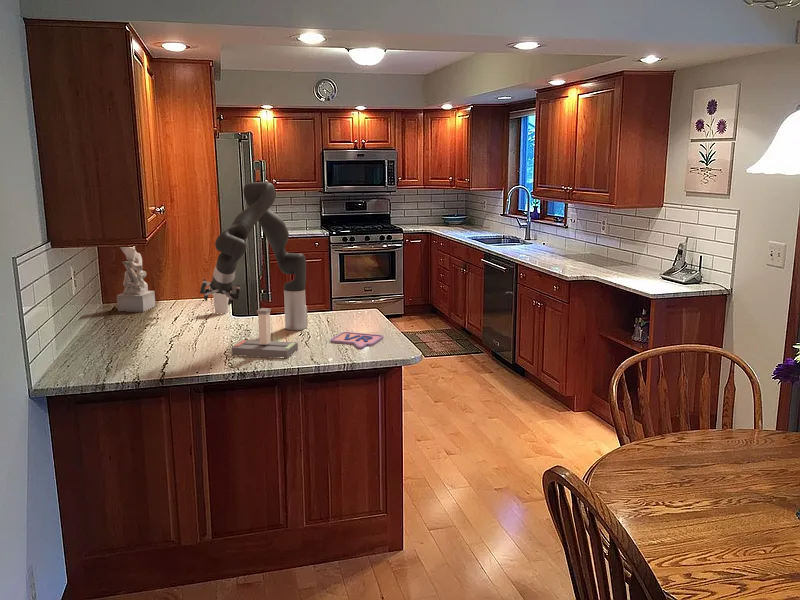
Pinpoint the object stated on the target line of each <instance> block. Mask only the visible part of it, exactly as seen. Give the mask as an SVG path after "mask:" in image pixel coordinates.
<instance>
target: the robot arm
mask: <svg viewBox="0 0 800 600" xmlns="http://www.w3.org/2000/svg"><path fill="white" fill-rule="evenodd" d="M242 191H243V197H244V200H245V202H246V205H247V206H248V207H247V208H245V209H244V210H242V211H241V212H240V213H238V215H237V216H236V217H235V218H234V220H233V222H231V223H232V224H231V225H230V226H229V227H228V228H226V229H225V230H224V231H222V232H220V234H219V235H218V236H217V238H216V240H215V242H214V243H215V244H214V246H215V249H216V251H218V252H220V253H219V254H218V257H217V259H216V264H215V267H214V270H213V273H212V279H211V281H207V279H205V278H204V279H202V283H201V285H200V289H199V290H200V291H199V293H200V295H202V294H203V300H204V301H205V302H208V299H209V295H213V293H215V292H216V293H220V294H225V295H226V296H227V297H229V300H228V306H231V304H233V301H234V300H239V296H240V291H241V286H240V285H239V284H238V285H237V286H234V285H233V284H234V283H233V282H234V280H235V278H236V269H237V265H238V263H239V261H240V259H241V258H242V257H243V256H244V255H245V253H246V251H247V248H248V245H247V243H246V241H245V240H246V239H247V238H248V237H249V235H250V234H251V232H252V230H253V228H255V225H256V223H257V222H258V224H259V225H260V227H261V229H262V232H263V233H264V234H263V235H264V236H265V238H266V240H267V242H268V243H269V245H270V247H271V249H272V251H273V254H274V256H275V259H276V262H277V266H278V269H279V270H280V271H281V273H282V274H285V275H294V278H293V279H292V280H290V281H287V282H284V284H283V296H284V297H283V299H284V300H283V301H284V302H283V303H284V328H285V330H290V331H301V330H305V329H306V328H307V327H308V326H309V325H308V306H307V305H306V304H307V303H306V299H307V298H306V283H307V282H306V281H307V260H306V256H305V254H303V253H301V252H300V253H298V252H297V253H295V252H287V250H286V248H285V247H286V245H287V243H288V241H289V236H290V235H289V234H290V232H289V230H288V227H287V226H286V224H285V222H284V220H283V219H282V218H281V217H280V216H279V215H278V214H276V213H275V212H274V211H272V210H270V208H271V207H272V206H273V204H274V202H275V201H276V196H277V194H276V193H277V192H276V188H275V186H274V184H273V183H271V182H269V181H268V182H267V181H255V182H254V181H253V182H248V183H245V185H244V187H243V189H242ZM233 291H234V293H233Z"/></svg>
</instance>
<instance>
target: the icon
mask: <svg viewBox="0 0 800 600" xmlns="http://www.w3.org/2000/svg"><path fill="white" fill-rule="evenodd" d="M383 338H384V335H383V334H377V333H376V334H375V333H366V332H363V333H362V332H355V331H352V332H351V331H342V332H340V333H338V334H337V335H335V336H333V337H331V338H330V339H329V340H330V341H331V342H330V343H332V342H333V343H334V344H340V343H341V345H342V344H343V345H351V346H352V345H353V346H354V345H355V346H354V347H355V348H356V349H358V350H363V349H365V348H366V347H373V346H375V345H377V344H378V343H380V342H381V341H383V340H384V339H383ZM333 343H332V344H333Z"/></svg>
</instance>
